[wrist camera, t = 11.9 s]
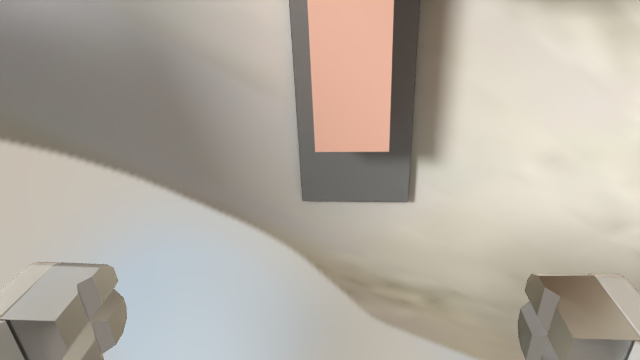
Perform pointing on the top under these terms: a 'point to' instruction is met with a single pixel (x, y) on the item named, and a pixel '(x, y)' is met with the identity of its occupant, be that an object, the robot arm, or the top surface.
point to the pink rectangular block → (351, 73)
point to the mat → (358, 167)
